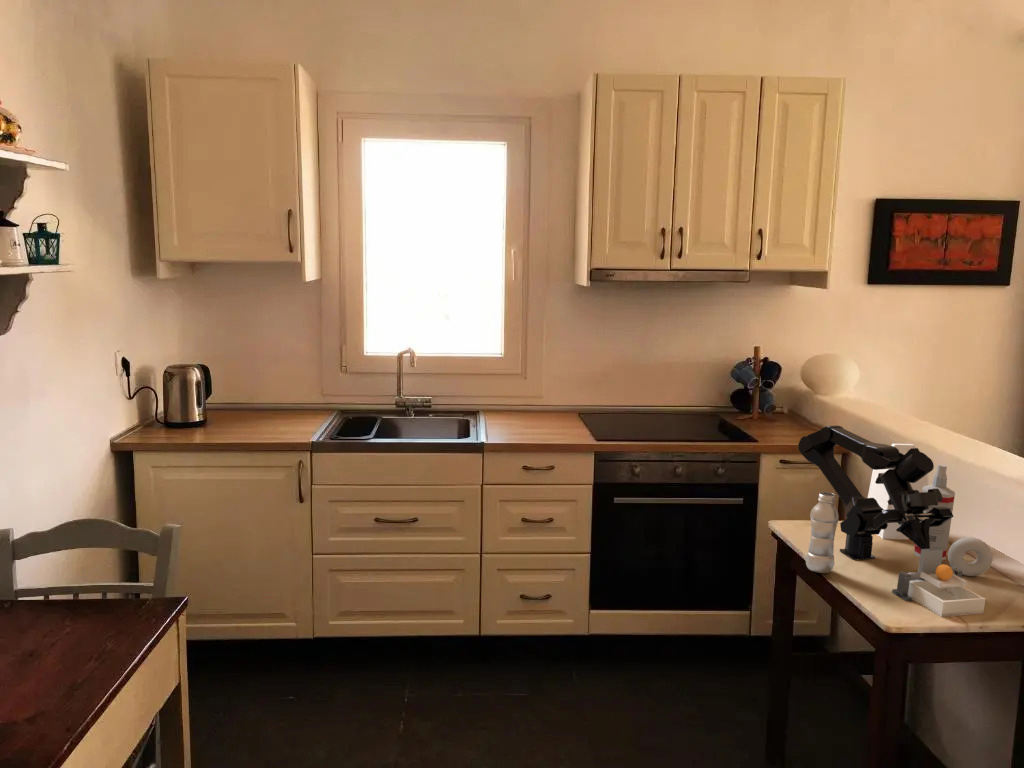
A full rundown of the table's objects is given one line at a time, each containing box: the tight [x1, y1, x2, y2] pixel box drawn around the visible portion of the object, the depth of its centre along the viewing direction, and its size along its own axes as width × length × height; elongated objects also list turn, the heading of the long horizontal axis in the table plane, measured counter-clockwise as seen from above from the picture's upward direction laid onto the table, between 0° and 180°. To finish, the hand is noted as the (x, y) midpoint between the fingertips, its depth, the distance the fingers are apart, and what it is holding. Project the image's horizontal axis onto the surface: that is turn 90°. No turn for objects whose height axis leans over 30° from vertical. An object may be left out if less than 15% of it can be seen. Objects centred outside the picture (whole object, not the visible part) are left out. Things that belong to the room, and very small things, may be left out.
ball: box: [935, 563, 953, 580], centre depth 185 cm, size 4×4×4 cm
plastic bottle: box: [805, 491, 840, 574], centre depth 200 cm, size 6×7×20 cm
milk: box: [867, 443, 929, 540], centre depth 230 cm, size 12×12×26 cm
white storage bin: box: [908, 580, 986, 618], centre depth 185 cm, size 11×11×4 cm
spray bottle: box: [913, 464, 956, 562], centre depth 213 cm, size 8×8×25 cm
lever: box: [907, 548, 968, 588], centre depth 189 cm, size 14×12×10 cm
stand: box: [891, 567, 963, 602], centre depth 190 cm, size 5×16×6 cm, turn 104°
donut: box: [947, 536, 994, 577], centre depth 202 cm, size 10×4×10 cm, turn 74°
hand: (927, 551), depth 190 cm, fingers closed
